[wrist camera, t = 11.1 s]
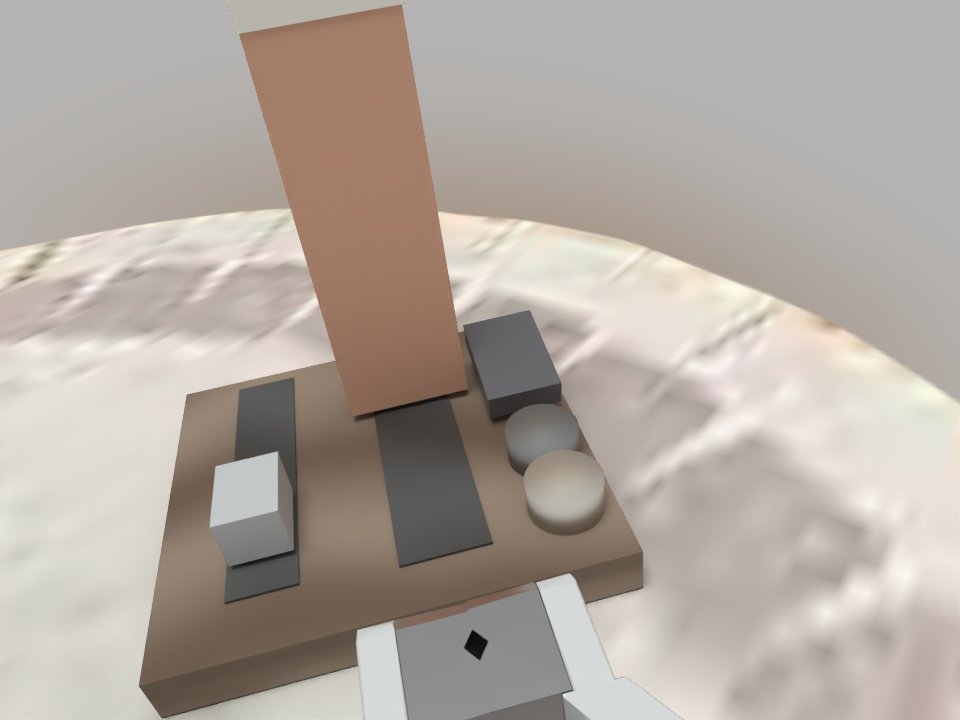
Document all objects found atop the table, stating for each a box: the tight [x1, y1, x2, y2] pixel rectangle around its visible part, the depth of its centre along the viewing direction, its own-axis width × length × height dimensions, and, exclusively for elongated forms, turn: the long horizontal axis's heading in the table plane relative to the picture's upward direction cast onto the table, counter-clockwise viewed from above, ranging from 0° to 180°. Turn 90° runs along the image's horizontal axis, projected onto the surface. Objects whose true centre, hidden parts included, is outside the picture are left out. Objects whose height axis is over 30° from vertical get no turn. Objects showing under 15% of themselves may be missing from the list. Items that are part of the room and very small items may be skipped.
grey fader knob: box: [209, 451, 294, 566], centre depth 21 cm, size 2×2×2 cm
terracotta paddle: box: [227, 0, 468, 417], centre depth 22 cm, size 2×4×14 cm, turn 103°
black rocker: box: [463, 310, 561, 418], centre depth 25 cm, size 4×2×1 cm, turn 13°
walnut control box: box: [139, 331, 643, 718], centre depth 24 cm, size 12×13×3 cm
